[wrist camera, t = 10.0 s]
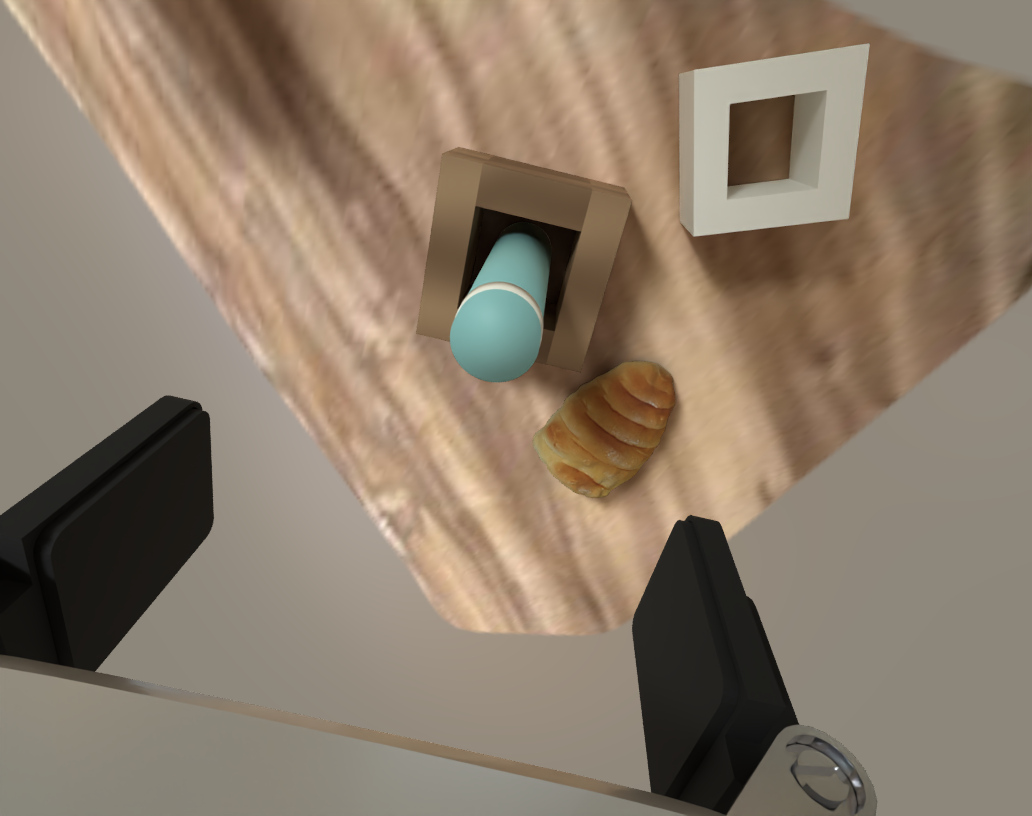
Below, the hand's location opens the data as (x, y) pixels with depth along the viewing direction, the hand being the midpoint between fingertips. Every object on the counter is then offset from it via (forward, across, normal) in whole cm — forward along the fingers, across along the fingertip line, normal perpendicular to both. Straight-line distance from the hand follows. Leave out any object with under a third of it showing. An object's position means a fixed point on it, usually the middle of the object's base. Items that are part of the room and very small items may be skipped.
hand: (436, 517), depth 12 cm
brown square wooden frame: (+24, 0, 0) cm, 24 cm away
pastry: (+25, -7, +10) cm, 27 cm away
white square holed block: (+24, -10, -8) cm, 27 cm away
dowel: (+24, 0, 0) cm, 24 cm away
